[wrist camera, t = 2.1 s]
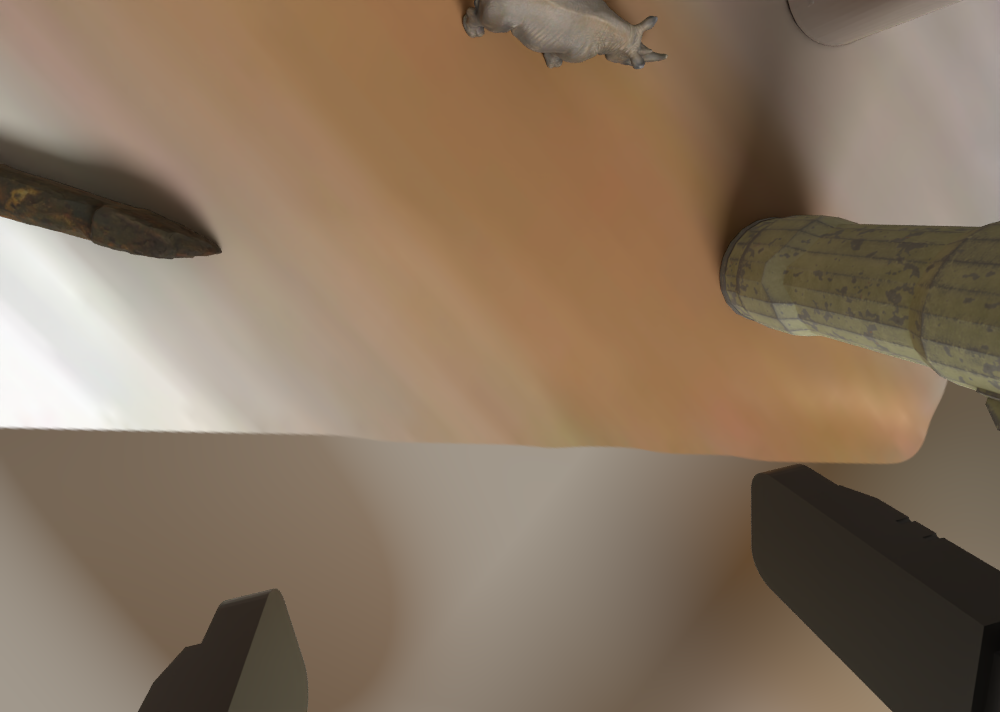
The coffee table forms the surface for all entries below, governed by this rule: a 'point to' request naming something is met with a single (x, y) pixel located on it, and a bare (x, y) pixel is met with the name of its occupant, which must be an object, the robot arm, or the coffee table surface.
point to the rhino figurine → (565, 29)
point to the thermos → (877, 290)
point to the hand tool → (96, 218)
